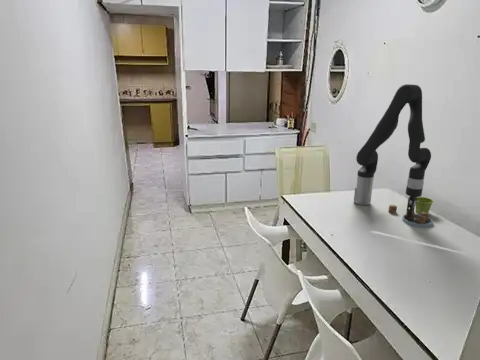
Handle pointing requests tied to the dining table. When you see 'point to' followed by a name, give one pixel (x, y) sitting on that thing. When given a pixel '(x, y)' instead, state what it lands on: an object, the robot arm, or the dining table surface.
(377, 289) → the dining table surface
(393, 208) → the pile bead
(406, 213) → the brown rounded dome
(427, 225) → the grey-blue shallow round dish
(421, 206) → the plant pot
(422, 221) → the seated bead
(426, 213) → the seated bead
